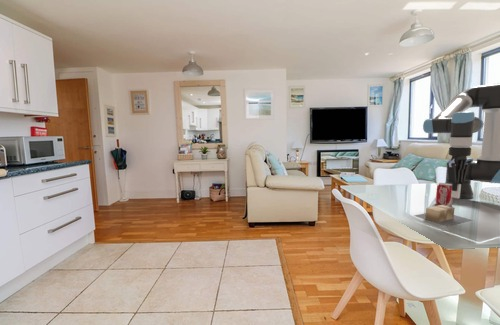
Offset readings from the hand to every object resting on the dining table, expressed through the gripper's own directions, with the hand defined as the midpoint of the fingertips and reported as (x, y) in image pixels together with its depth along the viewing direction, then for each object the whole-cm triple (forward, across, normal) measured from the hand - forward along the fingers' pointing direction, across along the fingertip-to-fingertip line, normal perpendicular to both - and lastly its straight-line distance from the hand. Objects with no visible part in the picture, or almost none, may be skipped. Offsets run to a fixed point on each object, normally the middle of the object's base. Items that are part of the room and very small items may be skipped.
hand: (455, 197), depth 110 cm
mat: (+9, +8, 0) cm, 12 cm away
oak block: (+6, +5, 0) cm, 8 cm away
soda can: (+10, -14, -12) cm, 20 cm away
